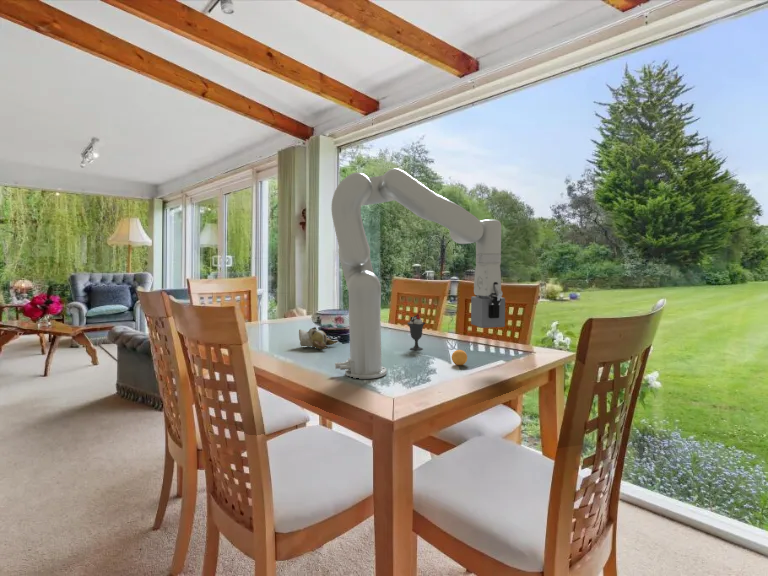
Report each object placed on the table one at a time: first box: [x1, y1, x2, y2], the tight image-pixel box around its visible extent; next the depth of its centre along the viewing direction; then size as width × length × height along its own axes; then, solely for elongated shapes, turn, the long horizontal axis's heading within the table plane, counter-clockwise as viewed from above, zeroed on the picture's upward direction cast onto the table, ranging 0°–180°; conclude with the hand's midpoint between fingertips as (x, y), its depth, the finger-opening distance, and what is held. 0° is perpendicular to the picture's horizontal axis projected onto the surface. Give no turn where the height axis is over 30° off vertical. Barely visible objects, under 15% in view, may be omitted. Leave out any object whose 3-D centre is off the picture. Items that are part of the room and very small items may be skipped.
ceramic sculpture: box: [298, 326, 339, 350], centre depth 171 cm, size 11×9×15 cm
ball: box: [451, 349, 468, 366], centre depth 140 cm, size 5×5×5 cm
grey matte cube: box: [470, 295, 506, 329], centre depth 136 cm, size 8×8×9 cm
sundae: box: [407, 310, 426, 351], centre depth 165 cm, size 7×7×15 cm
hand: (487, 315), depth 136 cm, fingers closed on grey matte cube, 7 cm apart
